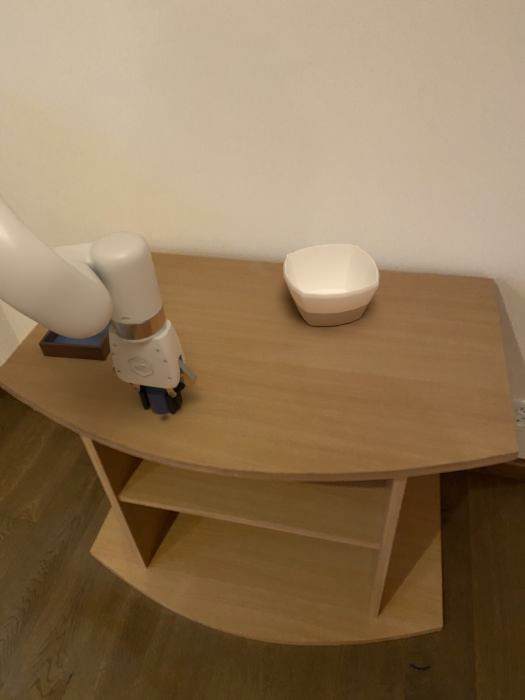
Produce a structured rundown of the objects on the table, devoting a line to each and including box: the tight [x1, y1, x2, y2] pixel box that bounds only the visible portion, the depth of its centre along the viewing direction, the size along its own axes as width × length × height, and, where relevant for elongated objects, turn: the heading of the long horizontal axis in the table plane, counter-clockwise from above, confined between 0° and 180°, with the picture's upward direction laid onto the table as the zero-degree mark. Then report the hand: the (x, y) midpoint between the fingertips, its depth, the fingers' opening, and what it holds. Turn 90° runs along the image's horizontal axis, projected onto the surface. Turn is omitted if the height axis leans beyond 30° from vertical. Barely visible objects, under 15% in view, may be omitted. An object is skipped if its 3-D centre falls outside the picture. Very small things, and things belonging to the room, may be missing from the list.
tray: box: [38, 321, 111, 361], centre depth 102 cm, size 25×12×3 cm, turn 170°
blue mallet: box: [145, 386, 171, 415], centre depth 85 cm, size 10×4×4 cm, turn 165°
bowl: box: [282, 243, 381, 327], centre depth 98 cm, size 18×18×9 cm
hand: (162, 404), depth 84 cm, fingers closed on blue mallet, 4 cm apart
